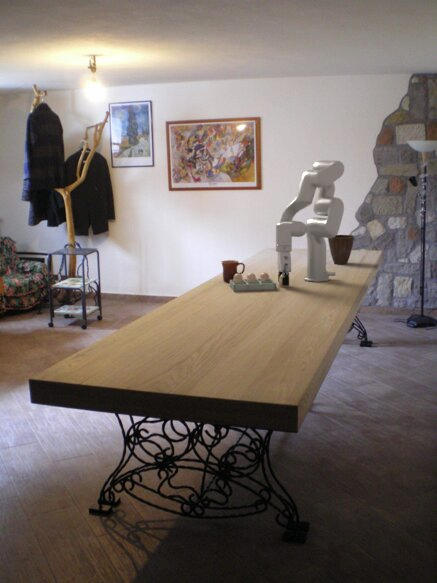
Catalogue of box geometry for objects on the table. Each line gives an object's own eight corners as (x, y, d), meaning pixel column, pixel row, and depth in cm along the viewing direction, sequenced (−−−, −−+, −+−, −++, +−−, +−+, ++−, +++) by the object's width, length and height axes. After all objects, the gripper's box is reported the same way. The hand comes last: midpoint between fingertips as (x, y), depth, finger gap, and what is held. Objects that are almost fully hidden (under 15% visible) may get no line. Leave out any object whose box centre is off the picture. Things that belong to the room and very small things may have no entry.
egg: (287, 285, 323) (287, 273, 322) (289, 287, 319) (289, 274, 318) (278, 286, 323) (278, 273, 322) (280, 287, 319) (280, 275, 317)
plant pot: (322, 262, 387) (322, 235, 383) (343, 260, 393) (343, 234, 390) (337, 266, 373) (337, 238, 370) (358, 264, 380) (359, 236, 376)
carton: (270, 284, 327) (270, 270, 326) (276, 289, 314) (275, 275, 312) (229, 286, 325) (229, 272, 323) (234, 291, 311) (233, 277, 310)
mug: (220, 283, 333) (220, 263, 331) (222, 279, 342) (222, 260, 340) (244, 283, 332) (244, 262, 330) (245, 279, 340) (245, 260, 338)
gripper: (295, 250, 309) (295, 286, 313) (287, 245, 326) (287, 280, 330) (280, 251, 308) (280, 287, 312) (272, 246, 325) (272, 280, 329)
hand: (283, 283), depth 321 cm, fingers open, 8 cm apart
